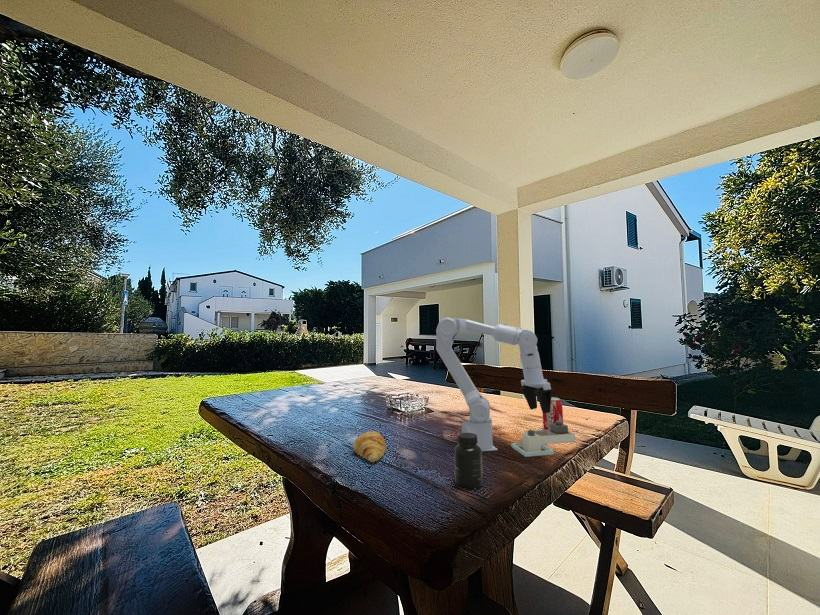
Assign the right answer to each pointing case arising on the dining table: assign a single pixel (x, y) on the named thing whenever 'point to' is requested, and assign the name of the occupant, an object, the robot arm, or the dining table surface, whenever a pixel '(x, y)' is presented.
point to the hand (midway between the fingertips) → (539, 410)
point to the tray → (535, 453)
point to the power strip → (554, 436)
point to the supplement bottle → (468, 462)
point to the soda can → (553, 413)
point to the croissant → (370, 446)
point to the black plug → (559, 428)
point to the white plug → (531, 441)
